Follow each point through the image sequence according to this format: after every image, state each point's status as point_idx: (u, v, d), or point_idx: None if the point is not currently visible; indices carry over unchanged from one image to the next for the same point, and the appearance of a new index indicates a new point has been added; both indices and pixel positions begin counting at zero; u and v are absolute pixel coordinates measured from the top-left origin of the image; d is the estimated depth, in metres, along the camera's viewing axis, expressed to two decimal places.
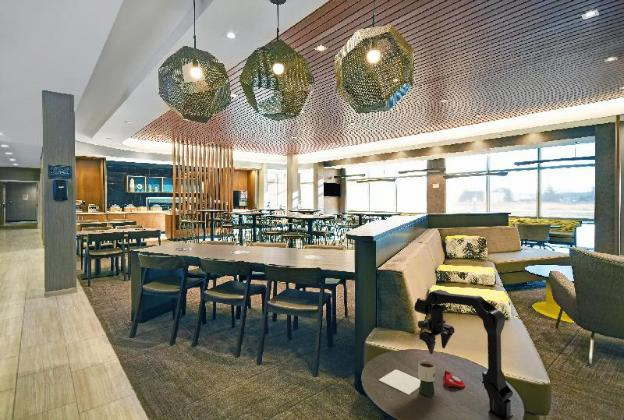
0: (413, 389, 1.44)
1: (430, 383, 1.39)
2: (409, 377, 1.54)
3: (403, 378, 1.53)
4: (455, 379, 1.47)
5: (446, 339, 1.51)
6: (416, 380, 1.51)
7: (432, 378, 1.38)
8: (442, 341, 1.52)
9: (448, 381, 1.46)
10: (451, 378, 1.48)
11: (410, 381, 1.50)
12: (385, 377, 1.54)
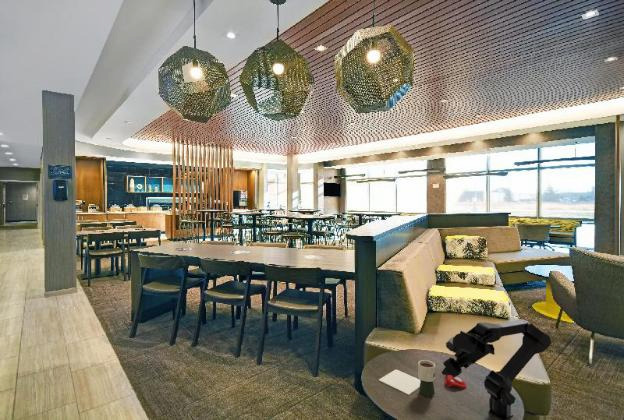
0: (413, 389, 1.44)
1: (430, 383, 1.39)
2: (409, 377, 1.54)
3: (403, 378, 1.53)
4: (456, 379, 1.47)
5: None
6: (416, 380, 1.51)
7: (432, 378, 1.38)
8: None
9: (449, 381, 1.46)
10: (452, 378, 1.47)
11: (410, 381, 1.50)
12: (385, 377, 1.54)
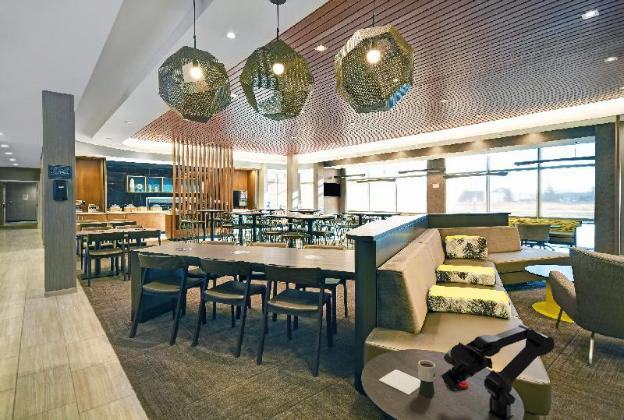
0: (413, 389, 1.44)
1: (430, 383, 1.39)
2: (409, 377, 1.54)
3: (403, 378, 1.53)
4: None
5: None
6: (416, 380, 1.51)
7: (432, 378, 1.38)
8: None
9: None
10: None
11: (410, 381, 1.50)
12: (385, 377, 1.54)
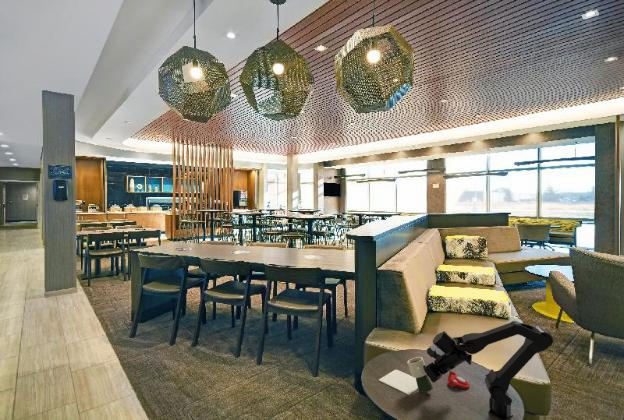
0: (413, 389, 1.44)
1: (424, 378, 1.41)
2: (409, 377, 1.54)
3: (403, 378, 1.53)
4: (459, 379, 1.46)
5: None
6: None
7: (423, 372, 1.40)
8: None
9: (452, 381, 1.46)
10: (455, 378, 1.47)
11: (410, 381, 1.50)
12: (385, 377, 1.54)
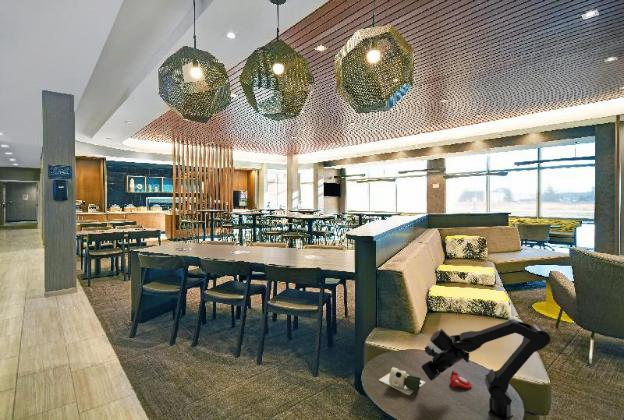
0: None
1: (406, 381, 1.43)
2: None
3: None
4: (461, 380, 1.46)
5: None
6: None
7: (399, 379, 1.43)
8: None
9: (454, 381, 1.45)
10: (457, 379, 1.47)
11: None
12: (385, 377, 1.54)
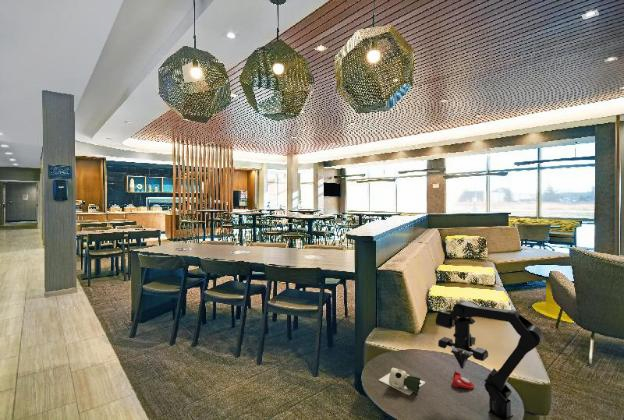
0: None
1: (406, 382, 1.42)
2: None
3: None
4: (464, 380, 1.46)
5: None
6: None
7: (399, 380, 1.43)
8: None
9: (456, 381, 1.45)
10: (459, 379, 1.47)
11: None
12: (385, 377, 1.54)
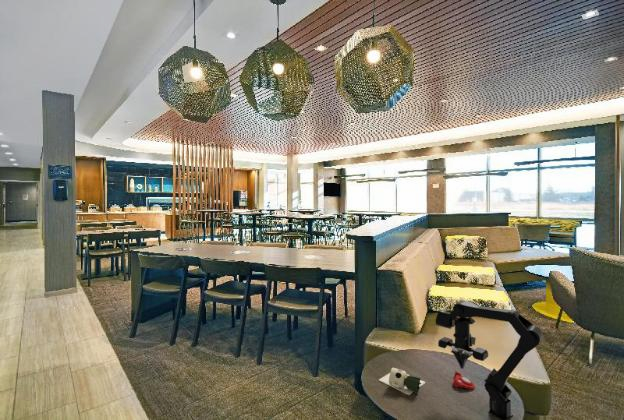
0: None
1: (406, 382, 1.42)
2: None
3: None
4: (464, 380, 1.46)
5: None
6: None
7: (399, 380, 1.43)
8: None
9: (456, 381, 1.45)
10: (460, 379, 1.47)
11: None
12: (385, 377, 1.54)
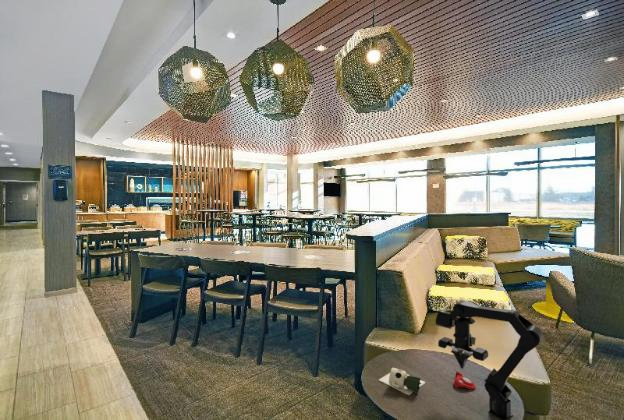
0: None
1: (406, 382, 1.42)
2: None
3: None
4: (465, 380, 1.46)
5: None
6: None
7: (399, 380, 1.43)
8: None
9: (457, 382, 1.45)
10: (461, 379, 1.47)
11: None
12: (385, 377, 1.54)
